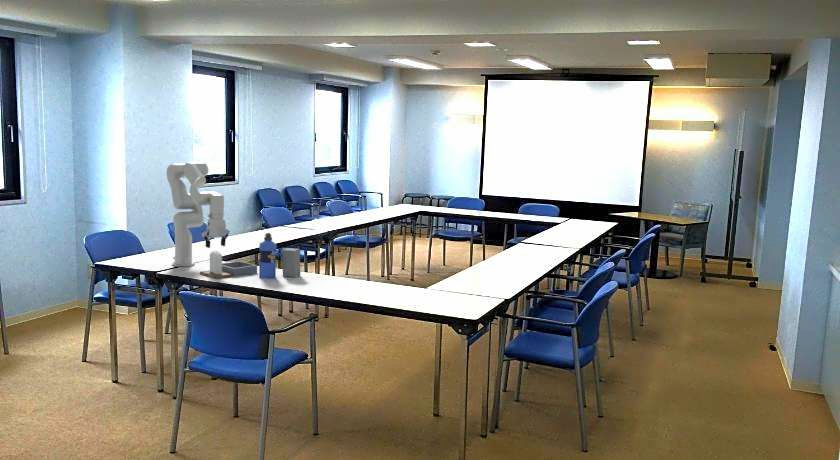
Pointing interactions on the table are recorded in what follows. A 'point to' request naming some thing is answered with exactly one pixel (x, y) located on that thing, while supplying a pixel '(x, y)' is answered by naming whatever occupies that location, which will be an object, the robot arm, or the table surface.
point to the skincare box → (291, 262)
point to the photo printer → (216, 262)
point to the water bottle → (267, 258)
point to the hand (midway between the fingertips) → (215, 246)
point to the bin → (239, 268)
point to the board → (213, 275)
